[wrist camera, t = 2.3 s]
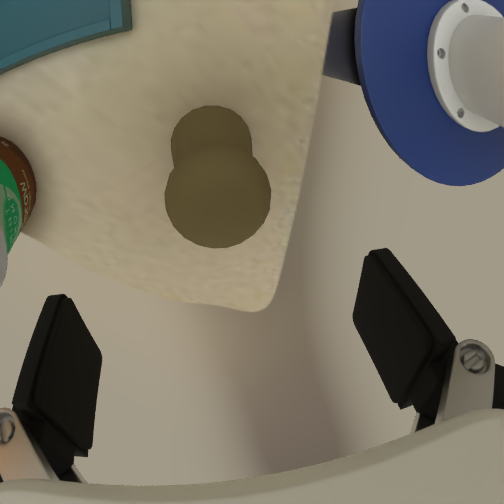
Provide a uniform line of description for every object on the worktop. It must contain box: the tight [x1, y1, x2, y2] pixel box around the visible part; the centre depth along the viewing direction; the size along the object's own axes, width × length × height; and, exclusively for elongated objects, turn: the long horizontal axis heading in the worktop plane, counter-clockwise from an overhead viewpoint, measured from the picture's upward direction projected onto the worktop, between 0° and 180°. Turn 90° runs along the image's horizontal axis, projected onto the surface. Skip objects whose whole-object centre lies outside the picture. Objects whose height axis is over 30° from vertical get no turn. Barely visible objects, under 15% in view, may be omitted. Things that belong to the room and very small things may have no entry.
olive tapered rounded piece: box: [165, 106, 271, 248], centre depth 19 cm, size 6×6×11 cm
